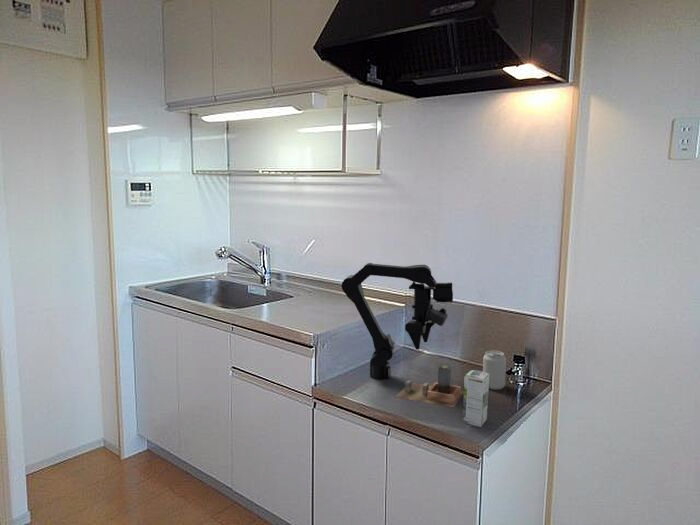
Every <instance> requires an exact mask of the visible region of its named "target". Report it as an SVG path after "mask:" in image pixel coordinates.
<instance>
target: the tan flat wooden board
mask: <svg viewBox="0 0 700 525" xmlns="http://www.w3.org/2000/svg"><path fill="white" fill-rule="evenodd" d="M463 395H464V390H461V386H460V385H459V386H458V385H454V384H453V385H452V384H451V386H450V394H445V393H439V392H438V382H434V383H433V384H432V385H430V384H429V382H424V383H423V384H422V383H416V382H413V380H410V379H408V380H407V381H405V387H404V388H402V390H401V391H399V392H398V394H396V396H395V398H397V399H398V398H400V399H405V400H411V401H416V402H422V403H426V404H432V405H437V406H444V407H448V408H449V407H450V408H455V406H456V405H457V404H458V402H459V400H460V399H461V397H462V396H463Z"/></svg>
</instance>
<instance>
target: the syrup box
mask: <svg viewBox="0 0 700 525" xmlns="http://www.w3.org/2000/svg"><path fill="white" fill-rule="evenodd" d="M463 380H464V381H463V382H464V383H463V384H464V385H463V391H464V393H463V400H462V401H463V402H462V420H461V421H464V422H466V424H467V425H469V424H470V426H473V427H474V426H475V427H479V428H482V427H483V425H484V424H485V423H486V422H487V419H488V409H489V408H488V406H489V405H488V404H489V390H490V389H489V374H488V373H485V372H483V371H480V370H474V369H472V370H470V371H468V373H466V374H465V376H464V379H463Z"/></svg>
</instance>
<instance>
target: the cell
mask: <svg viewBox="0 0 700 525" xmlns="http://www.w3.org/2000/svg"><path fill="white" fill-rule="evenodd" d="M437 367H438V368H437V383H438V392H439V393H445V394H450V386H451V385H452V384H451V380H452V379H451V378H452V377H451V376H452V368H451V366H447V365H441V366H437Z"/></svg>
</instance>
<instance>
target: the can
mask: <svg viewBox="0 0 700 525" xmlns="http://www.w3.org/2000/svg"><path fill="white" fill-rule="evenodd" d="M482 360H483V361H482V362H483V363H482V372H485V373H488V374H489V390H495V391H498V390H502V389H503V388H504V387H505V386H506V375H507V374H506V372H507V370H506V368H507V366H506V365H507V357H506V356H505V353H504V352H502V351H500V350H488V351H485V354H484V355H483V359H482Z"/></svg>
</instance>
